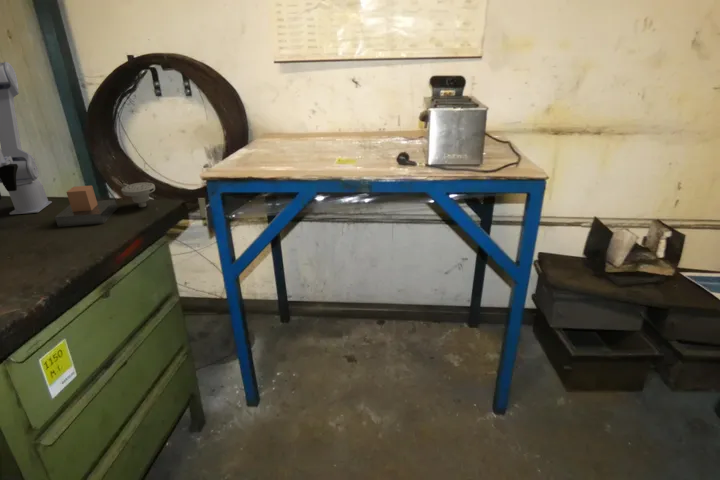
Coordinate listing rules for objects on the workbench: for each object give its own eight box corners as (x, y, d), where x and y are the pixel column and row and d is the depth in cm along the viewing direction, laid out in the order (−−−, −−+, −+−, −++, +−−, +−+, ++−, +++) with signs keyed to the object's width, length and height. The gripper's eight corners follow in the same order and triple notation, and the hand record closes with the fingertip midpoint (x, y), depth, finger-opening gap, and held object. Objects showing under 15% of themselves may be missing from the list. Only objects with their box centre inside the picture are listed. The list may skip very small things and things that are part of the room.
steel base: (75, 211, 130) (72, 202, 129) (117, 208, 132) (114, 199, 131) (58, 226, 120) (54, 217, 118) (103, 223, 122) (100, 213, 120)
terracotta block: (79, 205, 126) (73, 186, 124) (97, 204, 127) (92, 185, 125) (72, 211, 122) (66, 192, 119) (91, 210, 123) (85, 190, 120)
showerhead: (132, 178, 136) (160, 180, 134) (138, 199, 139) (164, 201, 137) (111, 188, 128) (140, 189, 126) (117, 210, 131) (146, 212, 129)
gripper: (-15, 151, 105) (5, 203, 111) (17, 139, 118) (33, 186, 123) (-47, 153, 104) (-25, 205, 109) (-12, 140, 116) (7, 187, 122)
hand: (4, 195), depth 116 cm, fingers open, 7 cm apart
